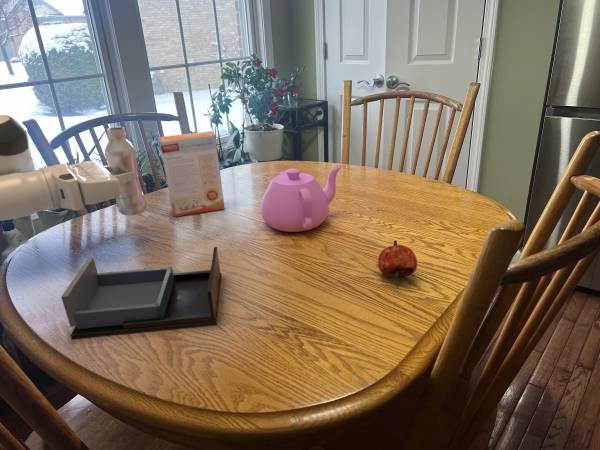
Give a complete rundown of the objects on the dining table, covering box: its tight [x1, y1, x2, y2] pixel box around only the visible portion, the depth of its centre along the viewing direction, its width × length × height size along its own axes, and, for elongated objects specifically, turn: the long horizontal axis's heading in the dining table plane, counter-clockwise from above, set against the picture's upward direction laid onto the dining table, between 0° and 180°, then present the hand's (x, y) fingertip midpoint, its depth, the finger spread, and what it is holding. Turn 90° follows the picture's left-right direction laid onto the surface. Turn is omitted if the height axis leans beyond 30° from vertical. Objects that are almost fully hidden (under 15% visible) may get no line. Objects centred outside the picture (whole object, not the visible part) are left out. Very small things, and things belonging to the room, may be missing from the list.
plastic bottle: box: [104, 126, 147, 216], centre depth 99 cm, size 6×7×20 cm
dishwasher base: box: [70, 246, 222, 340], centre depth 79 cm, size 24×16×7 cm
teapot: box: [260, 164, 344, 233], centre depth 109 cm, size 22×22×14 cm
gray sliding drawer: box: [60, 256, 174, 329], centre depth 78 cm, size 15×13×7 cm
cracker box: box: [159, 130, 225, 218], centre depth 117 cm, size 14×6×21 cm, turn 108°
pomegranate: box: [377, 239, 418, 290], centre depth 84 cm, size 7×7×10 cm
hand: (128, 171), depth 99 cm, fingers closed on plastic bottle, 5 cm apart
